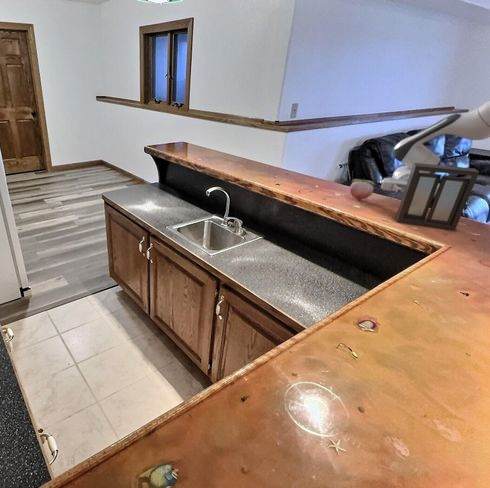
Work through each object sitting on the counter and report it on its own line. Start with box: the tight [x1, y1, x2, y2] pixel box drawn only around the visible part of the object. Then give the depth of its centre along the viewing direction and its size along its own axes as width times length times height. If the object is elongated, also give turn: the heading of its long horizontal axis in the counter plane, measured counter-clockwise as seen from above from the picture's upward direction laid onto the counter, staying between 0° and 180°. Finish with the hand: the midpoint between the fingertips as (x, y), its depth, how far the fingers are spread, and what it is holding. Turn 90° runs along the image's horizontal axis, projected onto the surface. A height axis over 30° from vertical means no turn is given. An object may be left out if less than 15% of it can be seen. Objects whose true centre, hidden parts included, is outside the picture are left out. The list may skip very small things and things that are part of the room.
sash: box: [404, 172, 442, 219], centre depth 130 cm, size 7×5×17 cm
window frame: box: [395, 163, 480, 231], centre depth 126 cm, size 18×5×22 cm, turn 65°
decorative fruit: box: [349, 177, 376, 201], centre depth 153 cm, size 9×8×10 cm
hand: (413, 192), depth 134 cm, fingers open, 8 cm apart
